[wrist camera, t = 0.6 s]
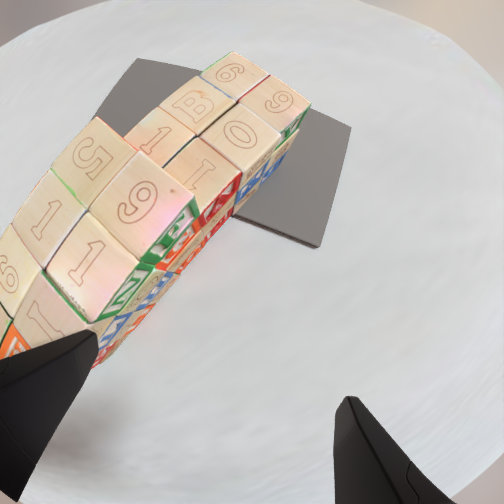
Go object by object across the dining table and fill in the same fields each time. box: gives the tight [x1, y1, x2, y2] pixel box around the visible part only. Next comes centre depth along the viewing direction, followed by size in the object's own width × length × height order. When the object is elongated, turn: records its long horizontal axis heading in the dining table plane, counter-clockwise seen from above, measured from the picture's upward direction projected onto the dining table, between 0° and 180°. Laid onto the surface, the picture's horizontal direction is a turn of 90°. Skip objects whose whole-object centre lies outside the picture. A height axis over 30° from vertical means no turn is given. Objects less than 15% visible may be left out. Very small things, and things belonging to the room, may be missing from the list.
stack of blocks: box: [0, 52, 312, 369], centre depth 15 cm, size 21×6×12 cm, turn 139°
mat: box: [91, 58, 351, 247], centre depth 23 cm, size 13×24×1 cm, turn 70°
